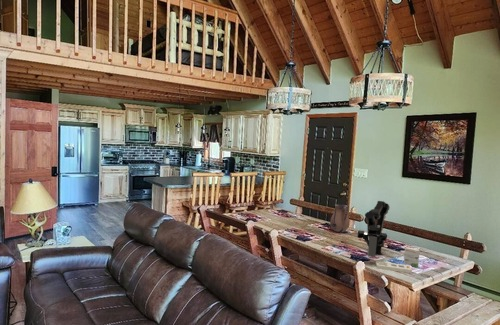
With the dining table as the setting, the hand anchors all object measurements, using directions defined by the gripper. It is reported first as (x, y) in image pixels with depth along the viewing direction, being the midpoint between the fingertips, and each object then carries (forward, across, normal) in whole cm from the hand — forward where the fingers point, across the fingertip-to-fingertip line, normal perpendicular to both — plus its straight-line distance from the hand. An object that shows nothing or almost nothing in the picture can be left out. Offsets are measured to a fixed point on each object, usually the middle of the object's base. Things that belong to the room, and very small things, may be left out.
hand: (372, 246), depth 226 cm
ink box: (0, +28, +19) cm, 34 cm away
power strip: (+10, +14, +9) cm, 19 cm away
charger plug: (+4, 0, +6) cm, 7 cm away
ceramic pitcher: (-53, -17, +73) cm, 92 cm away
